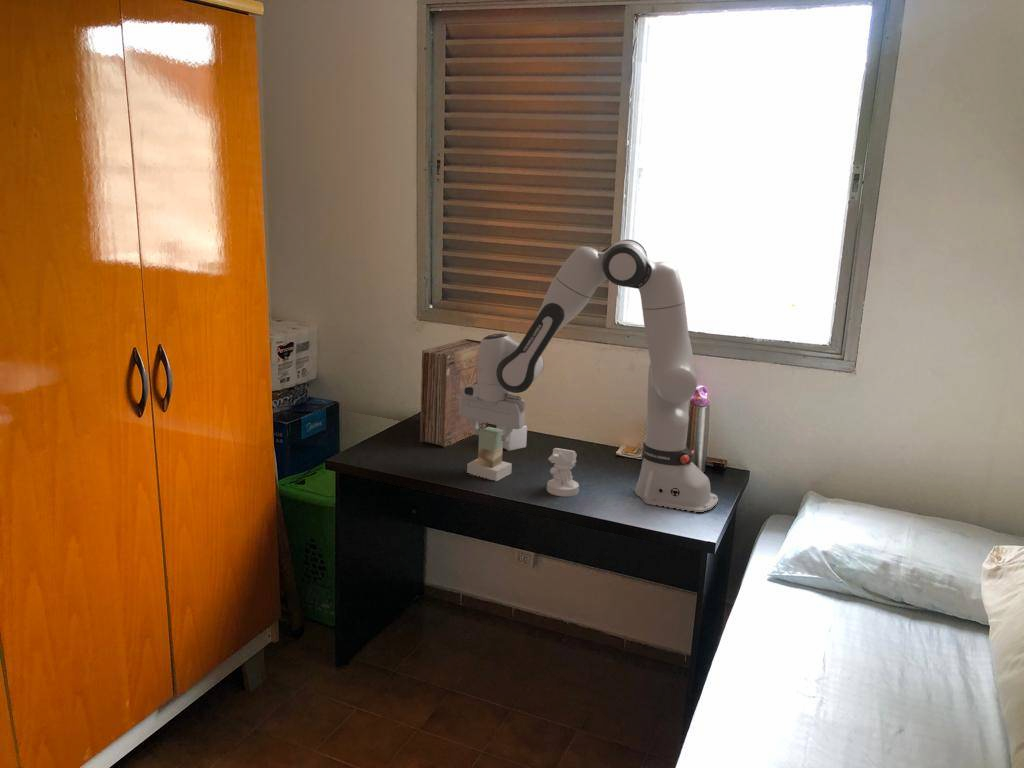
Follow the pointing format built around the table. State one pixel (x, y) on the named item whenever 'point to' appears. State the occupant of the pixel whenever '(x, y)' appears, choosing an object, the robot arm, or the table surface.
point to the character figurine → (562, 473)
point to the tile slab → (489, 470)
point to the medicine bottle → (515, 438)
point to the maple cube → (490, 457)
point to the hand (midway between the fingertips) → (490, 437)
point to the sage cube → (490, 438)
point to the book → (447, 391)
